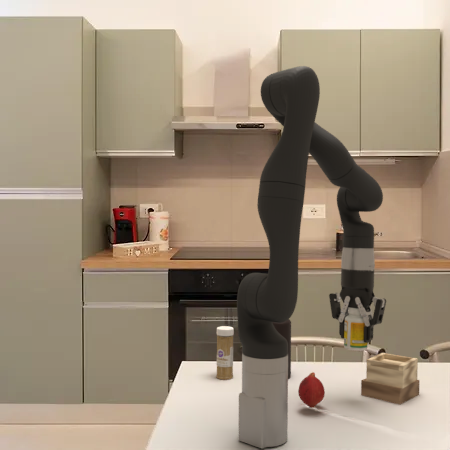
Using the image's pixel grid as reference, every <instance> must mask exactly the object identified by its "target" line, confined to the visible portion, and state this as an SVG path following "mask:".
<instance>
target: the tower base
mask: <svg viewBox="0 0 450 450" xmlns="http://www.w3.org/2000/svg"><path fill="white" fill-rule="evenodd" d="M360 381H361V382H360V396H364V397H367V398H372V399H376V400H379V401H384V402H388V403H392V404H396V405H401V404H404V403H406V402H407V401H410V400H412V399H414V398H416V397H418V396H420V379H417V380H416V381H415V382H413V383H411V384H410V385H408V386H406V387H405V388H403V389H402V388H398V387H393V386H388V385H383V384H378V383H373V382H368V381H366V378H363V379H362V380H360Z"/></svg>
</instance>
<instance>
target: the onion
mask: <svg viewBox="0 0 450 450" xmlns="http://www.w3.org/2000/svg"><path fill="white" fill-rule="evenodd" d="M325 395H326V391H325V387H324V384H323V382H322V380H320V379H319V378H317V377H316V373H315V372H313V371H312V372H310V373H309V375H307V376H305V377H304V378H303V379H302V381H301V382H300V383H299V386H298V396H299V400H301V402H303V403H304V404H305V405H307V407H308V408H312V409H313V408H315V407H317V405H318V404H319V403H321V402H322V401H323V399H324V398H325Z"/></svg>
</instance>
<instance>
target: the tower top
mask: <svg viewBox="0 0 450 450" xmlns="http://www.w3.org/2000/svg"><path fill="white" fill-rule="evenodd" d="M418 362H419V359H418V358H417V357H411V356H410V357H409V356H404V355H397V354H393V353H385V352H380V353H378V354H376V355H374V356H372V357H370V358H368V359H366V373H365V374H366V377H365V379H366V381H368V382H373V383H378V384H383V385H388V386H393V387H398V388H402V389H403V388H405V387H406V386H408V385H410V384H411V383H413V382H415V381H416V380H418Z"/></svg>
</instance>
